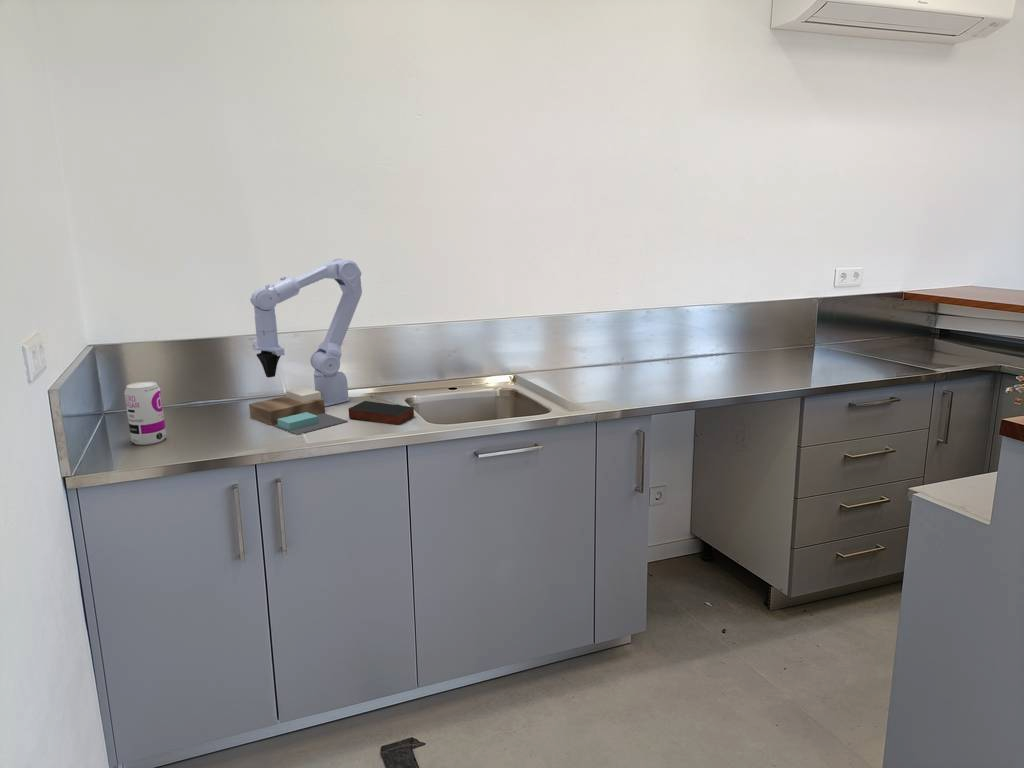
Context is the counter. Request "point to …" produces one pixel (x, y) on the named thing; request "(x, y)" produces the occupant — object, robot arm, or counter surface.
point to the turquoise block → (297, 421)
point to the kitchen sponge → (381, 412)
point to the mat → (323, 420)
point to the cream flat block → (303, 394)
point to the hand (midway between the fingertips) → (270, 376)
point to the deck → (283, 409)
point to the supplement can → (145, 413)
